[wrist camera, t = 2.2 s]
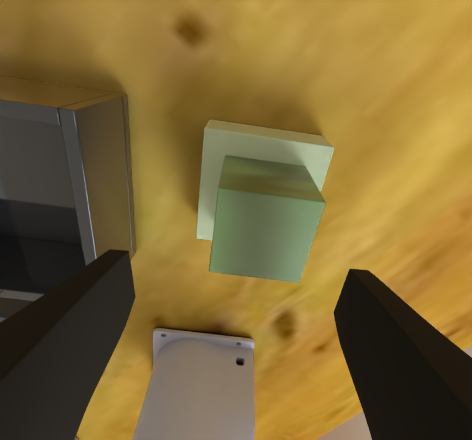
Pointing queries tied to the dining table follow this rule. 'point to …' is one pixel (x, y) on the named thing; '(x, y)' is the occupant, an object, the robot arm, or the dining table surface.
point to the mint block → (254, 147)
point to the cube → (264, 219)
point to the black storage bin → (61, 183)
